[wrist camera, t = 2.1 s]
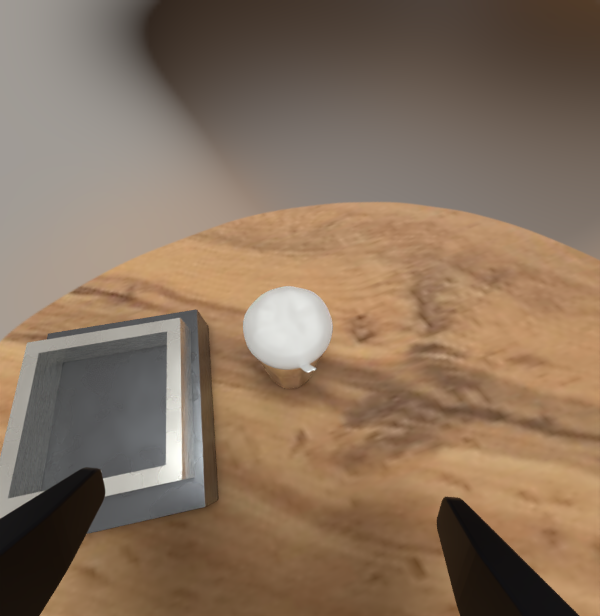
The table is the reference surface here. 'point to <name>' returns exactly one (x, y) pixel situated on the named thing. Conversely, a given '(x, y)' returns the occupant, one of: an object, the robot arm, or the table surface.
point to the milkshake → (288, 333)
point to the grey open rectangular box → (116, 418)
